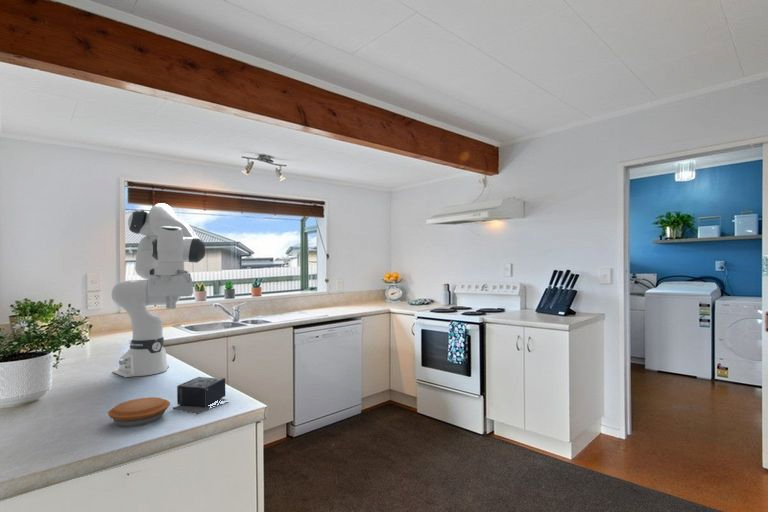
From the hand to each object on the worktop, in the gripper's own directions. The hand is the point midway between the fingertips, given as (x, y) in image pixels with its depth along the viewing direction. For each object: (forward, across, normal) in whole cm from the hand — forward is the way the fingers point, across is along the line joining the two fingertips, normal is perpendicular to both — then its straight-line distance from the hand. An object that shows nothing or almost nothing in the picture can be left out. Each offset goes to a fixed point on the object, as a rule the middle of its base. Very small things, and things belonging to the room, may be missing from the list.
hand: (170, 308), depth 148 cm
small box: (+26, -17, +6) cm, 32 cm away
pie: (+30, -19, +23) cm, 42 cm away
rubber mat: (+29, -25, +7) cm, 39 cm away
